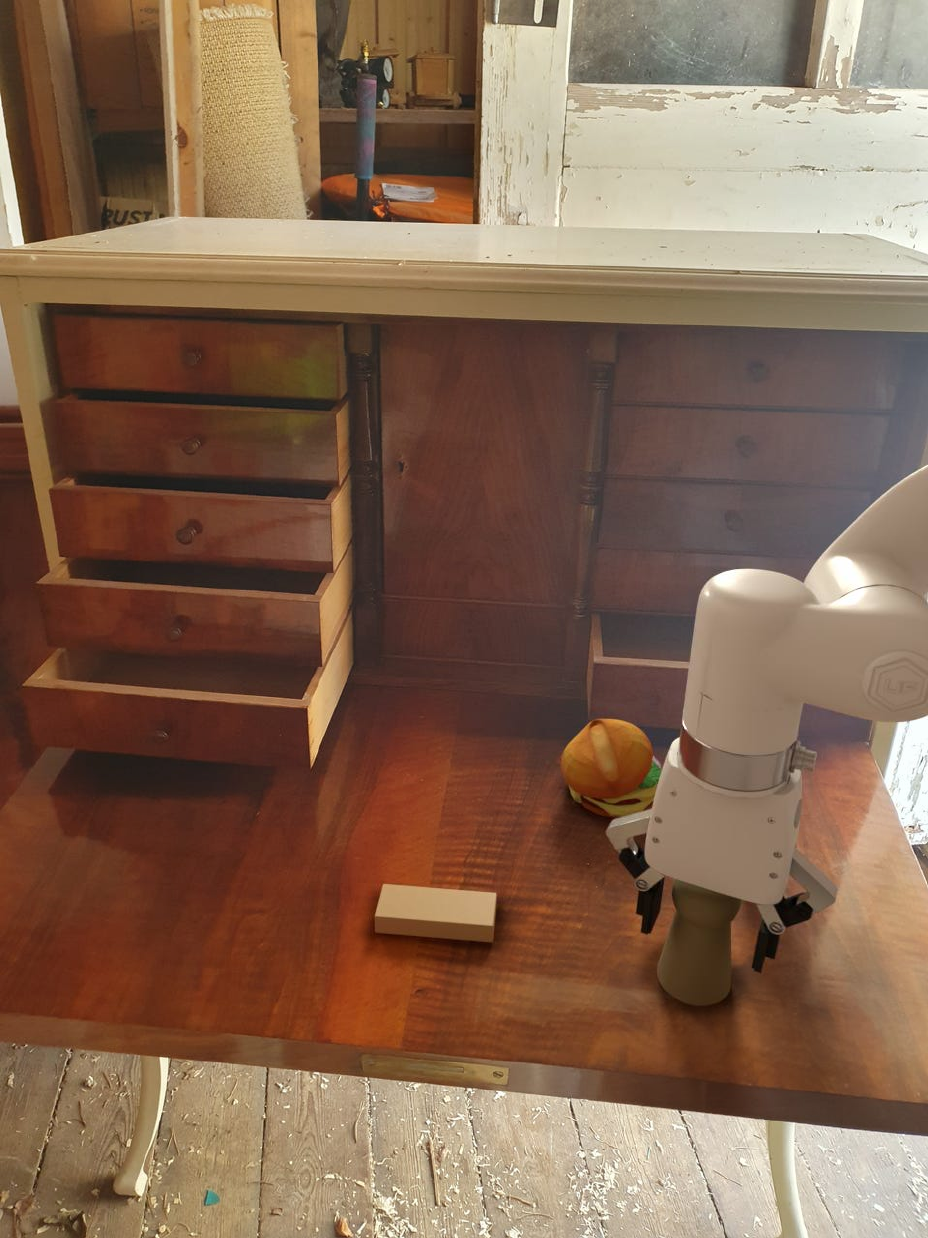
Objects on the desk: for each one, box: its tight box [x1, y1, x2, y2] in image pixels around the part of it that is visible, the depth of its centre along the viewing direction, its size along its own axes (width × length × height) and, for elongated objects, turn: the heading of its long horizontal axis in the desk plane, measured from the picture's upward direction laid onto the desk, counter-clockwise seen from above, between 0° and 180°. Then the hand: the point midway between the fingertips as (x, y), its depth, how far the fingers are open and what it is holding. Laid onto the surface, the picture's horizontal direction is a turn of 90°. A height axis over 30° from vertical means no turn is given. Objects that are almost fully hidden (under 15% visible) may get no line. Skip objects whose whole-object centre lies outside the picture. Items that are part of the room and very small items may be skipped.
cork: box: [656, 878, 743, 1007], centre depth 75 cm, size 6×6×11 cm
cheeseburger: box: [557, 718, 663, 819], centre depth 98 cm, size 10×11×10 cm
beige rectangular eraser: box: [374, 883, 498, 943], centre depth 83 cm, size 10×4×2 cm, turn 84°
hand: (703, 939), depth 73 cm, fingers open, 7 cm apart
